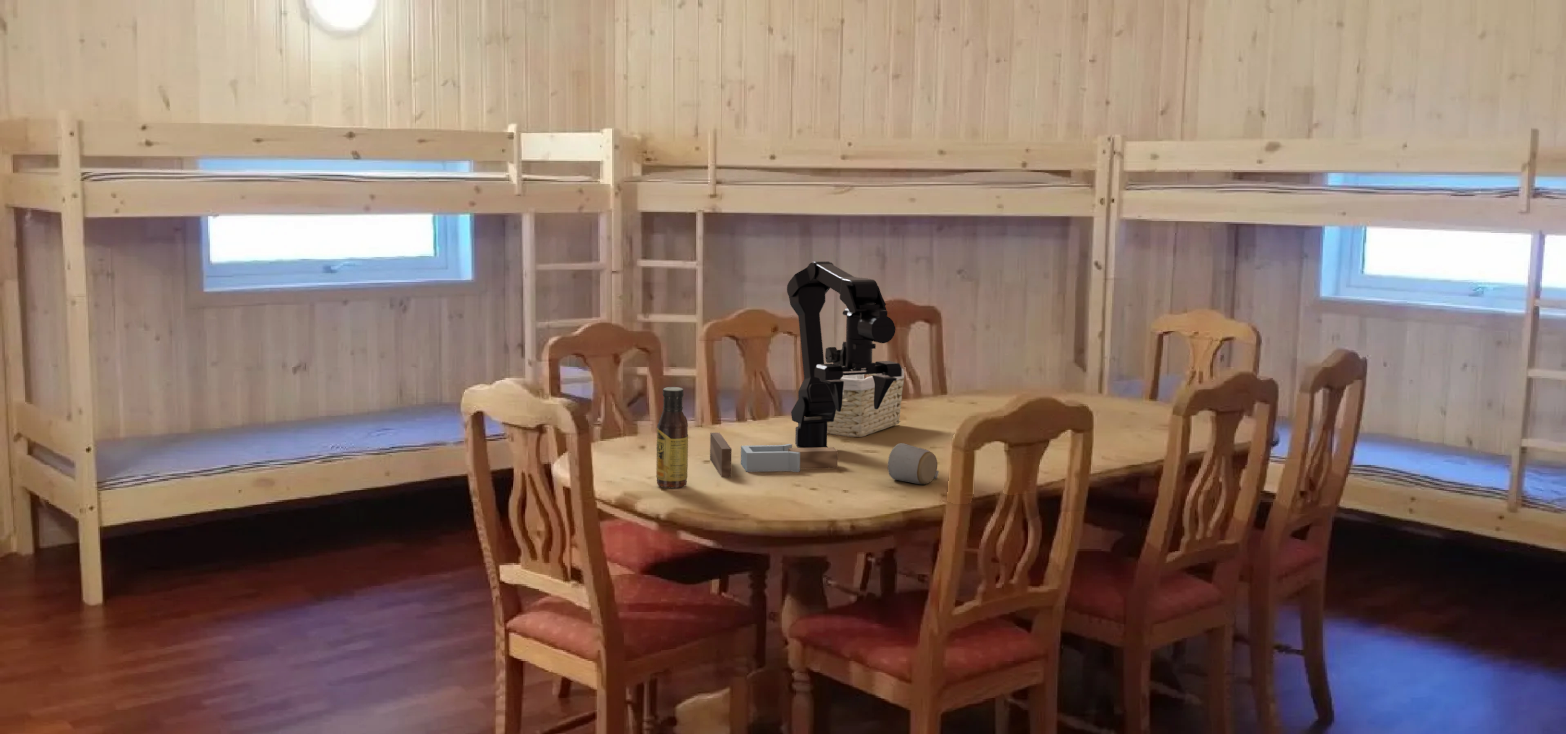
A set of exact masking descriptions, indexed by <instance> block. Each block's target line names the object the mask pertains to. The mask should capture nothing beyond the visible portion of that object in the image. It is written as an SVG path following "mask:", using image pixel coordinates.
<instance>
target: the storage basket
mask: <svg viewBox="0 0 1566 734" xmlns="http://www.w3.org/2000/svg"><path fill="white" fill-rule="evenodd" d="M854 369H855V368H854ZM865 375H866V376H867V377H865ZM872 375H876V374H862V375H843V377H842V378H841V379H840V380H841V381H844V386H843V398H842V407H841V411H840V412H838V411H837V410H836V413H835V417H834V421H833V422H827V434H830V435H835V436H842V437H850V438H854V437H855V438H856V437H857V438H862V437H866V436H867V435H871V434H875V433H877V432H880V431H882V430H885V429H888V428H890V427H893V426H896V425H898V424H900V422H901V421H900V418H901V409H902V407H901V404H902V400H903V396H902V395H903V389H904V388H903V387H904V384H905V383H904V382H905V369H904V368H903V367H902V376H901V377H894V378H897V380H896V381H893V382H892V384H891V386H890V387H889V389H888V390H887V392H886V394H885V396H884V398H883V400H882V402H881V404H880V406H879V408H878V409H874V389H875V383H874V379H873V376H872Z"/></svg>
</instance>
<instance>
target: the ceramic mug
mask: <svg viewBox="0 0 1566 734" xmlns="http://www.w3.org/2000/svg"><path fill="white" fill-rule="evenodd" d="M887 471H888V475H889V476H890V478H892V479H893V480H896V481H900V482H904V483H910V484H915V485H928V484H929V483H931V482H932V481H933V480H934V479H935V480H936V479H937V478H938V476H939V470H938V460H937V457H936V454H934V453H933V452H932V451H930V450H927V449H925V448H921V447H917V446H914V445H910V444H907V443H903V442H900V443H897V444H896V445H895V446H894V447H892V449H891V451H890V454H889V456H888V459H887Z"/></svg>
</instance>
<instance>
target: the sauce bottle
mask: <svg viewBox="0 0 1566 734" xmlns="http://www.w3.org/2000/svg"><path fill="white" fill-rule="evenodd" d="M662 395H663V407H662V412H661V416H660V418H659V420H658V423H657V426H656V468H655V469H656V471H655V472H656V475H655V477H656V484H657V485H658V486H659V487H661V488H663V489H664V488H665V489H666V488H667V489H668V488H669V489H681V488H684V487H686V485H687V484H688V483H687V482H688V481H687V480H688V470H689V469H688V463H689V460H688V458H689V457H688V456H689V455H688V453H689V434H688V431H689V428H688V427H689V424H688V420H687V416H686V415H684V414H685V413H684V412H683V408H684V406H683V398H684V388H682V387H676V386H668V387H664V388H663V389H662Z"/></svg>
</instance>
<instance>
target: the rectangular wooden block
mask: <svg viewBox="0 0 1566 734" xmlns="http://www.w3.org/2000/svg"><path fill="white" fill-rule="evenodd" d="M789 451H791V452H798V453H800V470H808V469H809V470H813V469H814V470H816V469H821V470H822V469H838V457H839V455H838V454H839V450H838V449H836V448H835V447H832V446H827V447H820V448H798V447H792V448H788V452H789Z"/></svg>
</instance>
